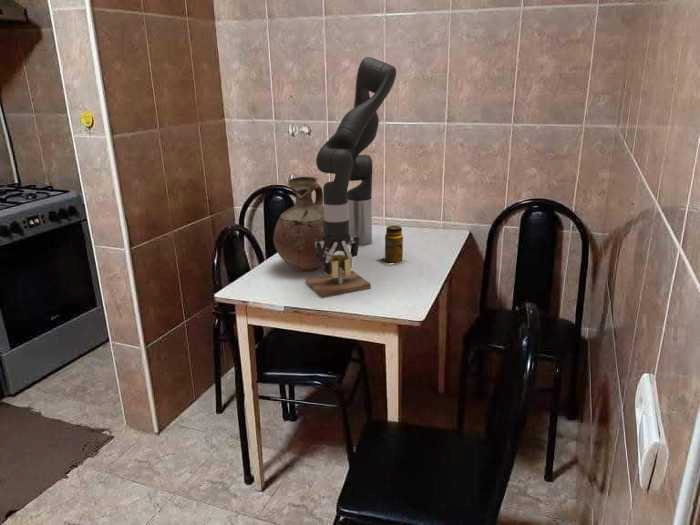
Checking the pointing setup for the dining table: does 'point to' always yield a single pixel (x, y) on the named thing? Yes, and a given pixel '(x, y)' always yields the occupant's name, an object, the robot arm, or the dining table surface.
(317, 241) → the robot arm
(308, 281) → the keyed stand
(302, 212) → the jug
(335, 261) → the collar
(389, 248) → the condiment
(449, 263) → the dining table surface
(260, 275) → the dining table surface
